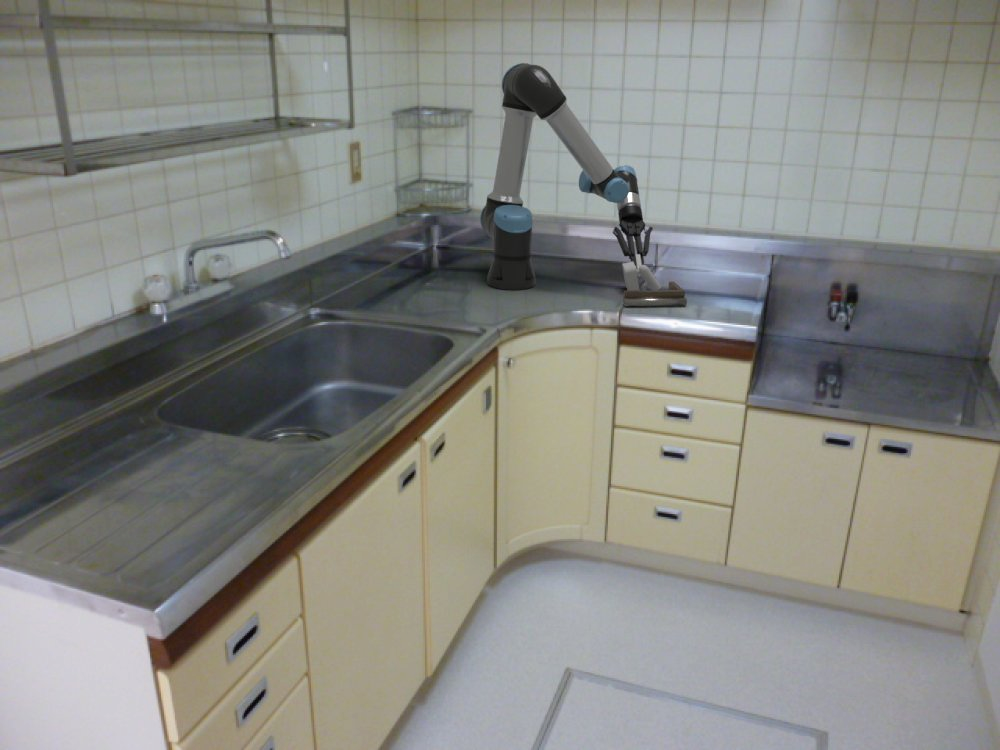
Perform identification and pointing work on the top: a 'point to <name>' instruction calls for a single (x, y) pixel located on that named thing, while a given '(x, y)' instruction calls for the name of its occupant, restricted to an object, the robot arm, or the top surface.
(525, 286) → the robot arm
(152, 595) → the top surface
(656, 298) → the hinge bracket
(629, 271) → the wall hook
